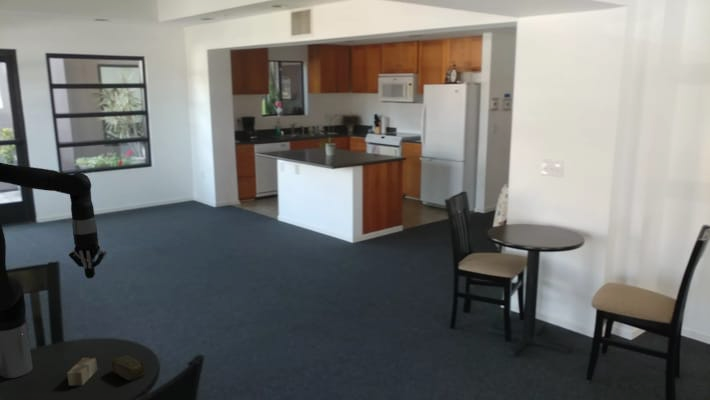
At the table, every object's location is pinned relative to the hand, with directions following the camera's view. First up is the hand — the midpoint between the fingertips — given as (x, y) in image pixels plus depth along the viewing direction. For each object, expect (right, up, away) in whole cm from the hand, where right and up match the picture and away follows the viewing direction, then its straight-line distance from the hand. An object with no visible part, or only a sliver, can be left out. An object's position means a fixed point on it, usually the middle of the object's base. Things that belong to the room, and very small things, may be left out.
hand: (90, 277), depth 197 cm
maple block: (+3, -29, -6) cm, 30 cm away
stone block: (+17, -32, -9) cm, 37 cm away
